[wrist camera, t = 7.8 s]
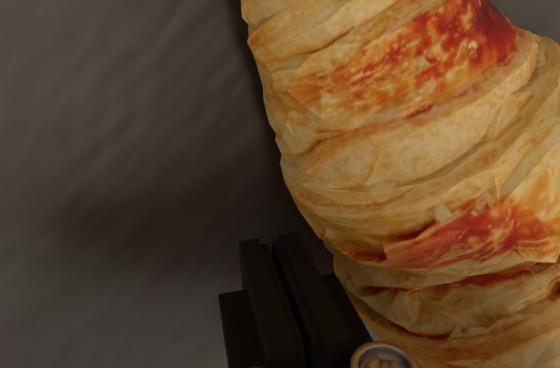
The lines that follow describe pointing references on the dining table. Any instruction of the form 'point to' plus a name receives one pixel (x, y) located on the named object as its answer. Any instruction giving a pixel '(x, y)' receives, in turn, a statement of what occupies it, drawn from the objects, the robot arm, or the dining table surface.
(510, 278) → the croissant
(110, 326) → the dining table surface
